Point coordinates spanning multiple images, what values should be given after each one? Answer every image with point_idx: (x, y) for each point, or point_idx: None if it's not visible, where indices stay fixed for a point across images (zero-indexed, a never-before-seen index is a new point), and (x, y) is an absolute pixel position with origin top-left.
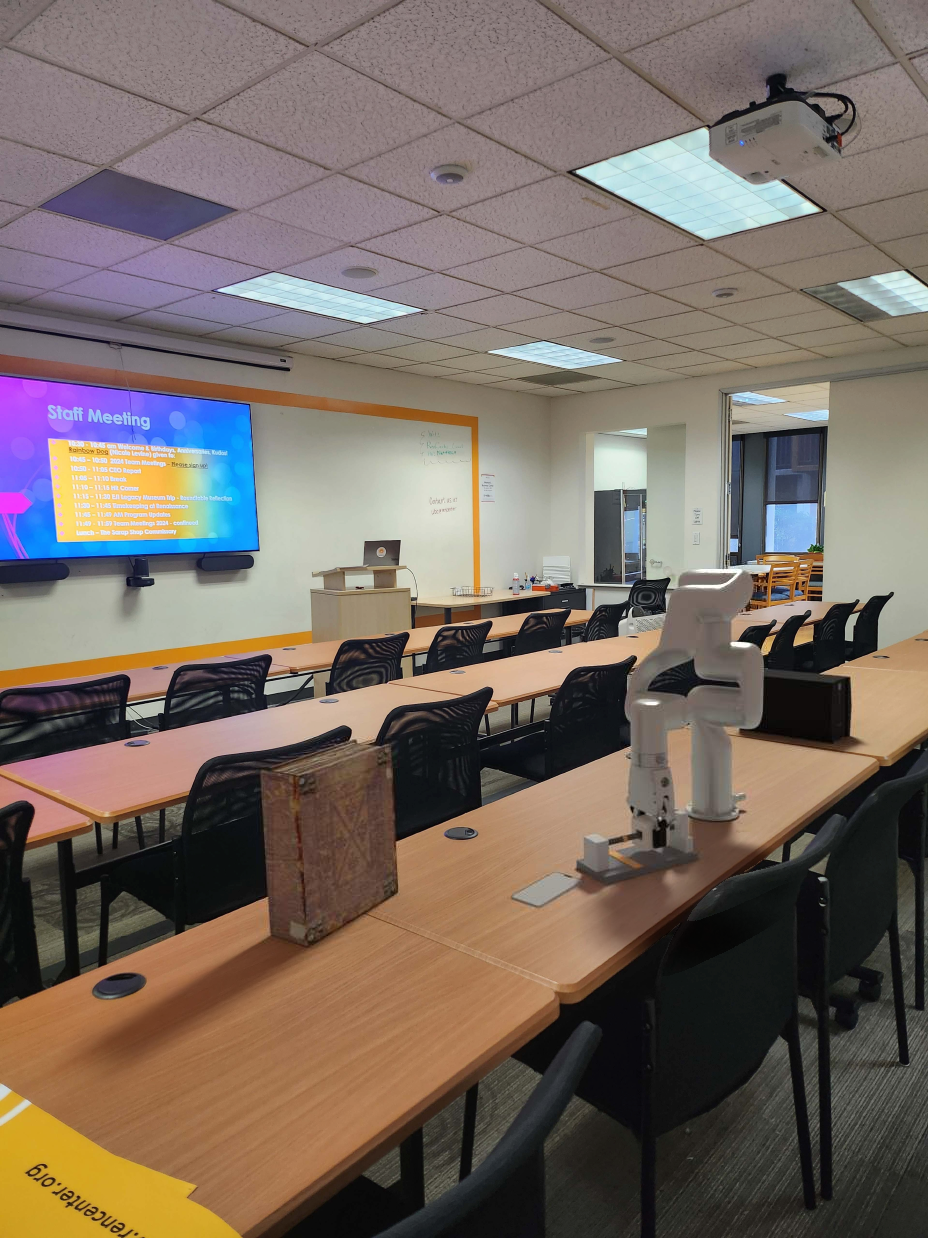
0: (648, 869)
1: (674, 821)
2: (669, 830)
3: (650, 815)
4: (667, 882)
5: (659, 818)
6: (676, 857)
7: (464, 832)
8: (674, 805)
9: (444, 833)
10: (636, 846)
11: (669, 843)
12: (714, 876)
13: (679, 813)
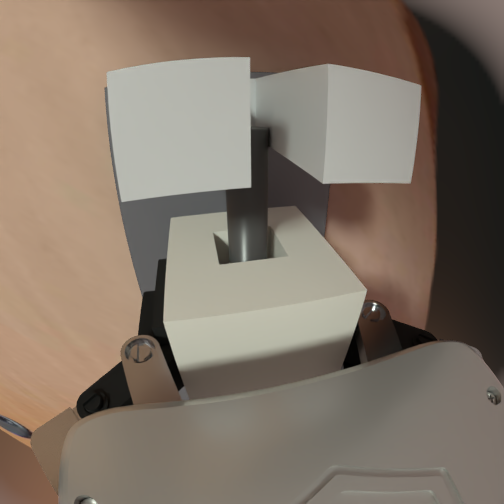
0: None
1: (285, 156)
2: (328, 243)
3: (217, 363)
4: (372, 277)
5: (307, 339)
6: (324, 191)
7: (8, 423)
8: (495, 381)
9: (15, 434)
10: (143, 266)
11: (299, 211)
12: (425, 147)
13: (390, 173)
